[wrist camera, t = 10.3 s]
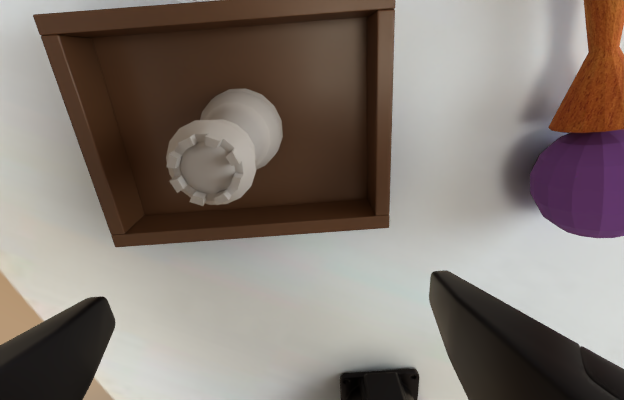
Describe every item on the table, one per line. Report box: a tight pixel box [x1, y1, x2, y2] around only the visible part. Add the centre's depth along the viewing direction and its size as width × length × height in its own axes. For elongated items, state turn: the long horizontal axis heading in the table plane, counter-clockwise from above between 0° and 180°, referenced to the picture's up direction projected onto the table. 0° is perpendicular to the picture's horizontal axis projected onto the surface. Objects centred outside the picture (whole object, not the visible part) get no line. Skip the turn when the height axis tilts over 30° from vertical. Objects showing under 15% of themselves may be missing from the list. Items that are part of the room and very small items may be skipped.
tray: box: [33, 0, 395, 247], centre depth 18 cm, size 12×16×3 cm
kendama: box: [530, 0, 624, 238], centre depth 15 cm, size 6×6×20 cm
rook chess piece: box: [166, 89, 283, 206], centre depth 15 cm, size 4×4×8 cm
